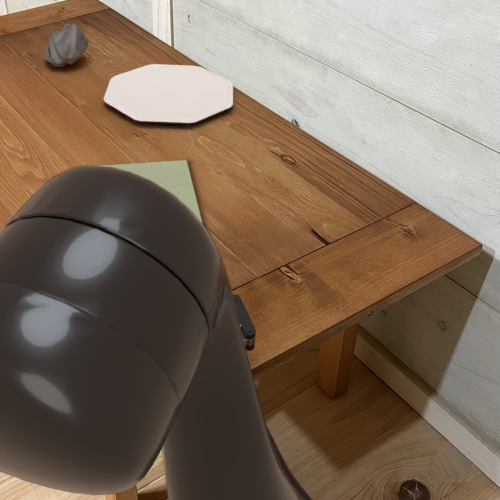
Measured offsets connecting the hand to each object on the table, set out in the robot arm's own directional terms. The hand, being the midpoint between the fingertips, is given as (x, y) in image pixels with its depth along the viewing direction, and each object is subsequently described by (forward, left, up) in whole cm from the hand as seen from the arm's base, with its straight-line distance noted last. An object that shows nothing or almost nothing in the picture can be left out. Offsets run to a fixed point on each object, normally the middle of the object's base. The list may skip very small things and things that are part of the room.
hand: (162, 289), depth 67 cm
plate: (+7, +59, -7) cm, 59 cm away
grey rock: (-12, +77, -7) cm, 78 cm away
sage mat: (-2, +27, -7) cm, 27 cm away
